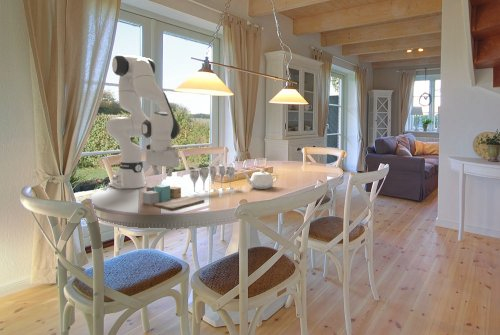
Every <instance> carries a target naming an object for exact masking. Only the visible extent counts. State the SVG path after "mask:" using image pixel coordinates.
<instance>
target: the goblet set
mask: <svg viewBox="0 0 500 335" xmlns="http://www.w3.org/2000/svg"><path fill="white" fill-rule="evenodd" d="M209 175H210V178H211V182H212V183H215V182H214V181H215V178H216V175H217V166H210V167H199V169H198V170H196V169H195V170H190V172H189V178H190V179H191V180H190V181H192V183H193V191H191V192H190V194H191V195H198V194H199V193H201V194H206V193H209V192H217V190H216V189H210V190H209V191H208V190H205V182H206V180H207V178H208V177H209ZM218 175H219V178H220V182H221V187H220V188H219V189H218V190H219V191H225V190H234V189H235V187H232V186H229V187H226V188H223V179H224V176H227V178H228V179H229V185H232V184H231V183H232V182H231V181H232V179H233V177H234V176H235V175H236V168H235V167H234V166H233V167H232V166H228V167H227V166H226V167H225V166H223V165H220V166H218ZM199 177H200V179H201V180H202V183H203V190H200V191H199V192H198V191H196V190H195V189H196V184H197V181H198V180H199Z"/></svg>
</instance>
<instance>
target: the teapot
mask: <svg viewBox="0 0 500 335" xmlns="http://www.w3.org/2000/svg"><path fill="white" fill-rule="evenodd" d="M242 175H244V176H245V179H246V182H247V183H248V184H249V185H250V186H251V187H252V188H253V189H257V190H267V189H270V188H271V187H273V185H274V183H275V182H276V181H277V180H278V177H279V176H278V175H277V174H275V173H271V172H267V171H265V169H263V168H262V169H259V171H256V172H255V171H254V172H253V173H252V175H251V177H250V176H249V175H248V174H247V173H243V174H242ZM273 176H275V178H273Z"/></svg>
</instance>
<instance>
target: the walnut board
mask: <svg viewBox="0 0 500 335" xmlns="http://www.w3.org/2000/svg"><path fill="white" fill-rule="evenodd" d="M198 203H199V204H203V203H205V199H201V198H197V197H192V196H187V195H185V196H181V197H180V198H176V199H170V200H168V201H163V202H161V201H159V203H155V204H153V206H154V207H156V206H157V208H160V207H161V209H164V208H165V210H168V211H176V210H181V209H183V207H184V208H187V207H191V206H194V204H195V205H199V204H198ZM190 205H191V206H190Z"/></svg>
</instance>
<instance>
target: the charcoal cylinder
mask: <svg viewBox="0 0 500 335" xmlns="http://www.w3.org/2000/svg"><path fill="white" fill-rule="evenodd" d="M145 187H146V186H145ZM148 191H155V186H147V187H146V188H145V192H148Z"/></svg>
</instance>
